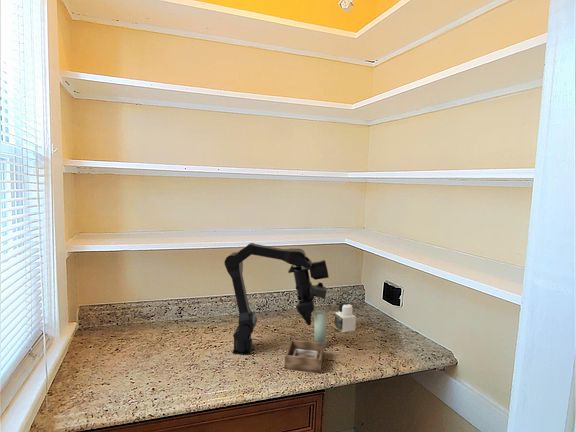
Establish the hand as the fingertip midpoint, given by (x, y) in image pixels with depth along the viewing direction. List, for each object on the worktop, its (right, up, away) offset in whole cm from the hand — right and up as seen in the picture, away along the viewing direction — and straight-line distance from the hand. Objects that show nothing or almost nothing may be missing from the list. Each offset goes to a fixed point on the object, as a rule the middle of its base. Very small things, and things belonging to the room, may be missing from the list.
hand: (309, 320), depth 136 cm
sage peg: (+5, -13, +9) cm, 17 cm away
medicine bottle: (+18, -12, +26) cm, 34 cm away
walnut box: (-2, -14, -4) cm, 15 cm away
